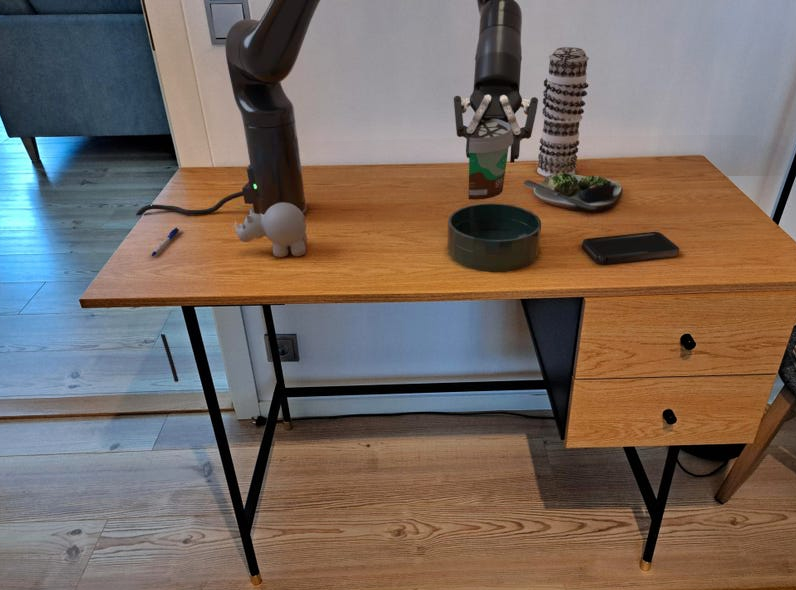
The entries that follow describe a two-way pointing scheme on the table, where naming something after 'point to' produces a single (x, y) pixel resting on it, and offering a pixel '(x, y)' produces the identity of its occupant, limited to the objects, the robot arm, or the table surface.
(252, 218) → the round bodied animal figurine
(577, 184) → the salad plate
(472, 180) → the food container
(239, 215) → the table surface
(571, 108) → the decorative candle
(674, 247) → the phone
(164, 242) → the ballpoint pen
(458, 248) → the bowl
